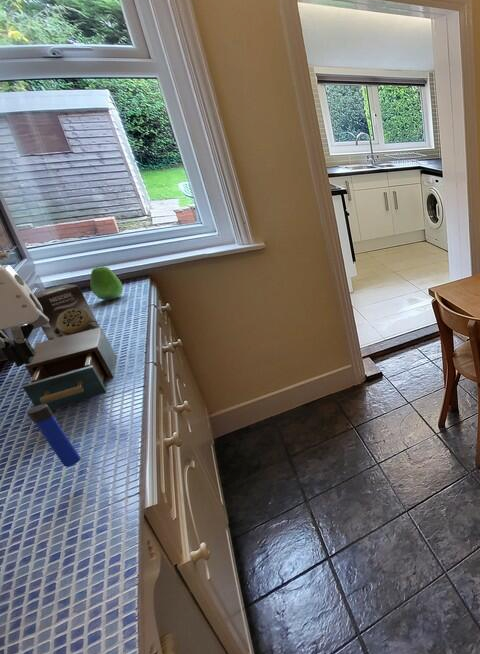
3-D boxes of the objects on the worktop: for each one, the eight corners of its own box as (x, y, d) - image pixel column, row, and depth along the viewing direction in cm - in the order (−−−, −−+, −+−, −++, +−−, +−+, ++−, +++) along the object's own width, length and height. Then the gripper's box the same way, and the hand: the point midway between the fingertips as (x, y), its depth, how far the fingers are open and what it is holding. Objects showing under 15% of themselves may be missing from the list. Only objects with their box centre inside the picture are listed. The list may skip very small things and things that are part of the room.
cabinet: (114, 377, 98) (97, 346, 95) (45, 398, 92) (24, 366, 88) (116, 355, 108) (101, 327, 104) (54, 373, 101) (36, 343, 98)
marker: (66, 468, 72) (30, 414, 67) (60, 464, 73) (23, 411, 68) (84, 459, 74) (49, 405, 69) (78, 455, 75) (43, 402, 70)
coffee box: (66, 352, 111) (34, 298, 104) (53, 349, 113) (20, 295, 106) (106, 336, 118) (79, 285, 111) (93, 333, 120) (65, 283, 114)
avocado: (128, 298, 145) (113, 266, 140) (99, 305, 140) (82, 272, 135) (125, 292, 151) (111, 261, 145) (97, 299, 145) (80, 267, 140)
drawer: (105, 401, 88) (90, 375, 85) (36, 424, 82) (17, 396, 79) (109, 369, 100) (96, 345, 97) (49, 387, 94) (33, 362, 91)
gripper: (33, 250, 73) (84, 339, 81) (-102, 272, 64) (-31, 370, 72) (24, 259, 68) (80, 354, 75) (-125, 284, 59) (-45, 388, 67)
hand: (26, 361), depth 74 cm, fingers closed
